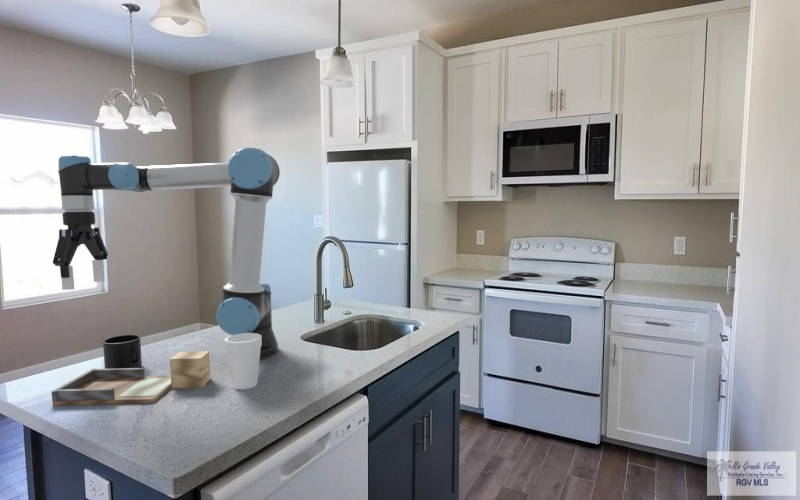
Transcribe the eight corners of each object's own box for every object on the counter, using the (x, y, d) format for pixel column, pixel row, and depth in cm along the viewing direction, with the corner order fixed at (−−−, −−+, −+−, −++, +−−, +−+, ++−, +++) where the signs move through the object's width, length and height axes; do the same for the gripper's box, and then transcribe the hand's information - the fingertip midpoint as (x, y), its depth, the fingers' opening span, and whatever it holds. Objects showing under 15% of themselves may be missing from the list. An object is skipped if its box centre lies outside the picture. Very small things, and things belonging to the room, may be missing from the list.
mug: (123, 377, 129) (121, 346, 129) (97, 371, 135) (95, 341, 134) (154, 367, 138) (152, 337, 137) (128, 361, 143) (127, 333, 142)
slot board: (181, 378, 128) (181, 366, 128) (153, 403, 112) (153, 389, 112) (93, 380, 127) (92, 368, 127) (52, 405, 111) (51, 391, 111)
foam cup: (228, 394, 117) (226, 344, 116) (224, 382, 125) (222, 335, 124) (266, 387, 121) (264, 339, 120) (259, 376, 130) (258, 331, 128)
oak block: (210, 379, 128) (209, 351, 127) (202, 387, 122) (200, 358, 121) (181, 379, 127) (179, 351, 127) (171, 388, 122) (169, 359, 121)
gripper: (92, 211, 142) (98, 278, 144) (31, 211, 117) (38, 293, 119) (117, 210, 142) (122, 278, 144) (61, 211, 118) (68, 292, 119)
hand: (84, 285), depth 132 cm, fingers open, 13 cm apart
